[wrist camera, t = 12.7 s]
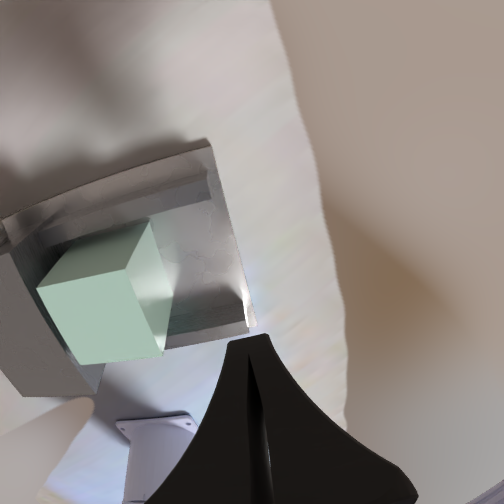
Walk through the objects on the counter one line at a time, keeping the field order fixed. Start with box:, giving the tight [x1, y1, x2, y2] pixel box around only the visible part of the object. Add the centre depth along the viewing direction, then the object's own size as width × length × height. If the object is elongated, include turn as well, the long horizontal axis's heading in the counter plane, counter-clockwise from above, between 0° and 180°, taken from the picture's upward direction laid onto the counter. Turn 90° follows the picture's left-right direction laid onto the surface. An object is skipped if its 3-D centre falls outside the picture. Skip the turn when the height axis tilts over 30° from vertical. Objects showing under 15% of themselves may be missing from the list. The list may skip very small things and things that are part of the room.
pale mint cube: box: [36, 222, 173, 365], centre depth 16 cm, size 5×5×6 cm
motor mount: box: [0, 145, 258, 397], centre depth 16 cm, size 13×18×6 cm
